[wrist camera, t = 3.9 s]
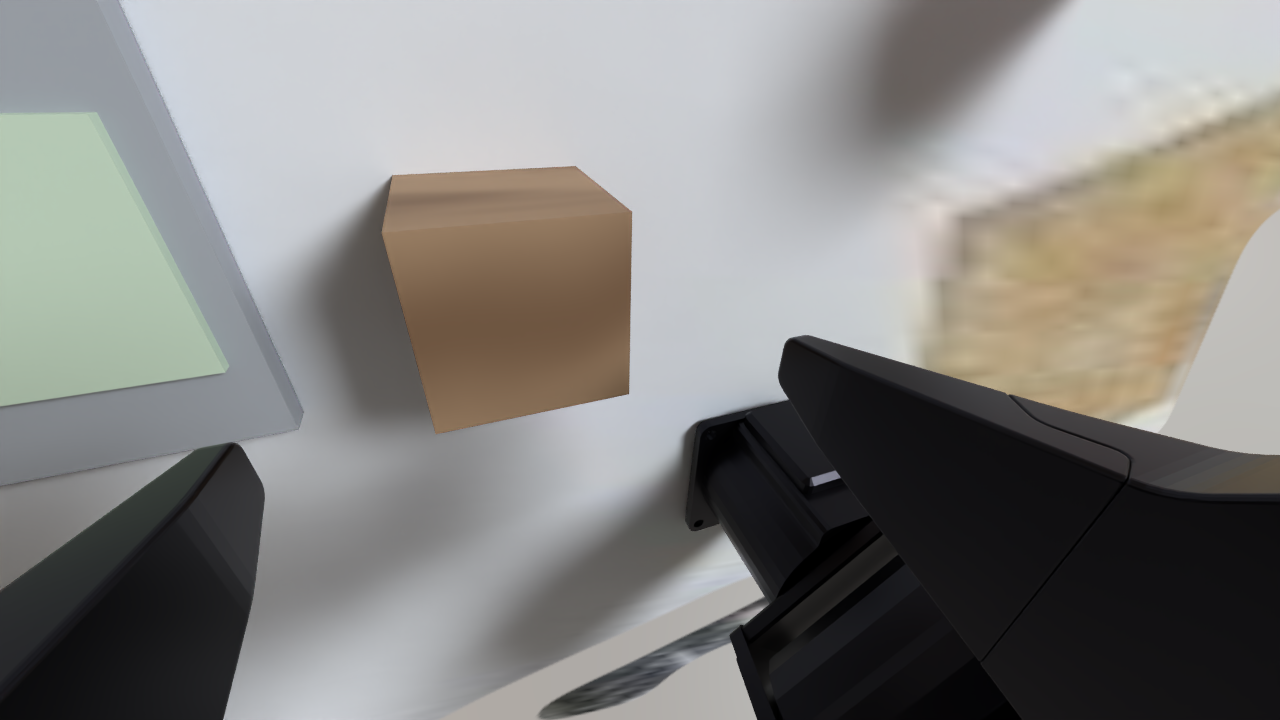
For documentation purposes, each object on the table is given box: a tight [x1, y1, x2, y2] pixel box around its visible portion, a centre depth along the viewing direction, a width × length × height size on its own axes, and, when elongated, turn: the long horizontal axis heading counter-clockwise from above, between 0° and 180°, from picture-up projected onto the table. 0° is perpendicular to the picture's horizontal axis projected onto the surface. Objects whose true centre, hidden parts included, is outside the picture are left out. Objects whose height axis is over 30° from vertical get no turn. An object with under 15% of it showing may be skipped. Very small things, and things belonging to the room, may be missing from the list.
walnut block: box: [382, 166, 632, 434], centre depth 12 cm, size 4×4×4 cm
